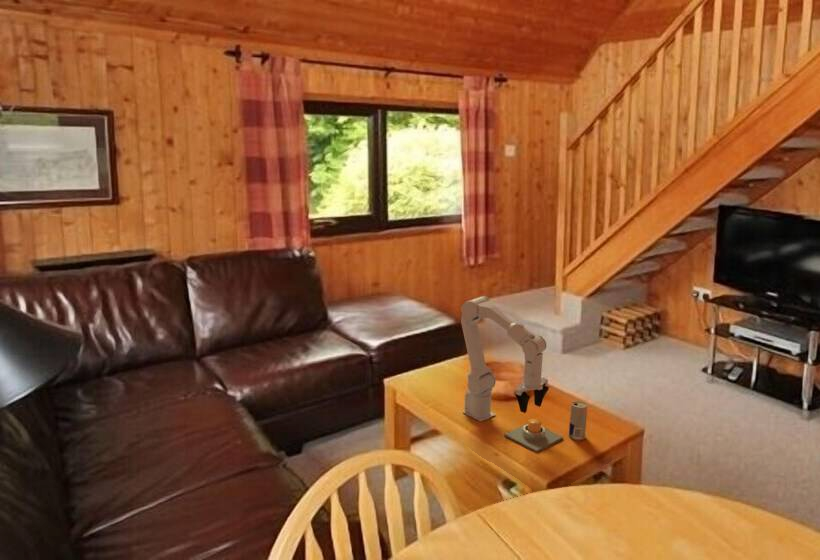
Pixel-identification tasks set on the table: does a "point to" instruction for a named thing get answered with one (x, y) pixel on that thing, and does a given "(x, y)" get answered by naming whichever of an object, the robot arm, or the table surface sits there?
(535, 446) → the gray board
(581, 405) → the energy drink
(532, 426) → the orange rounded capsule
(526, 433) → the segmented brown ring
